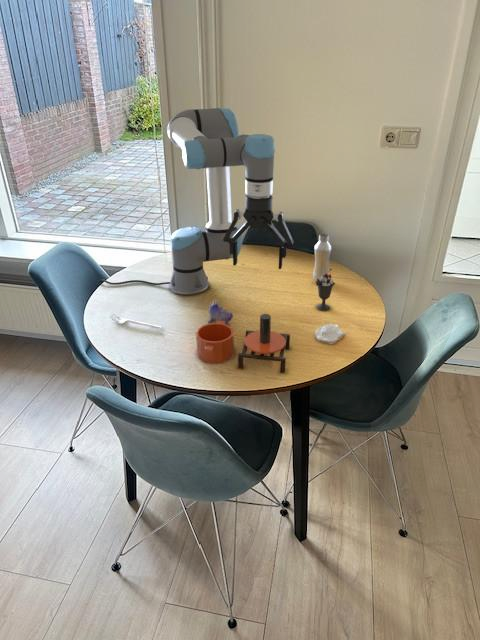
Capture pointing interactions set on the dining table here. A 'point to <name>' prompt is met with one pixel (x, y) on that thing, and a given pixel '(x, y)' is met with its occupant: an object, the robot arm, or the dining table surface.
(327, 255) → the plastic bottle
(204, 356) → the pot
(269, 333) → the lid
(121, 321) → the cooking utensil
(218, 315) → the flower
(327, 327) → the rose
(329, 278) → the sundae
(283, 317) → the dining table surface
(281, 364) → the rack
